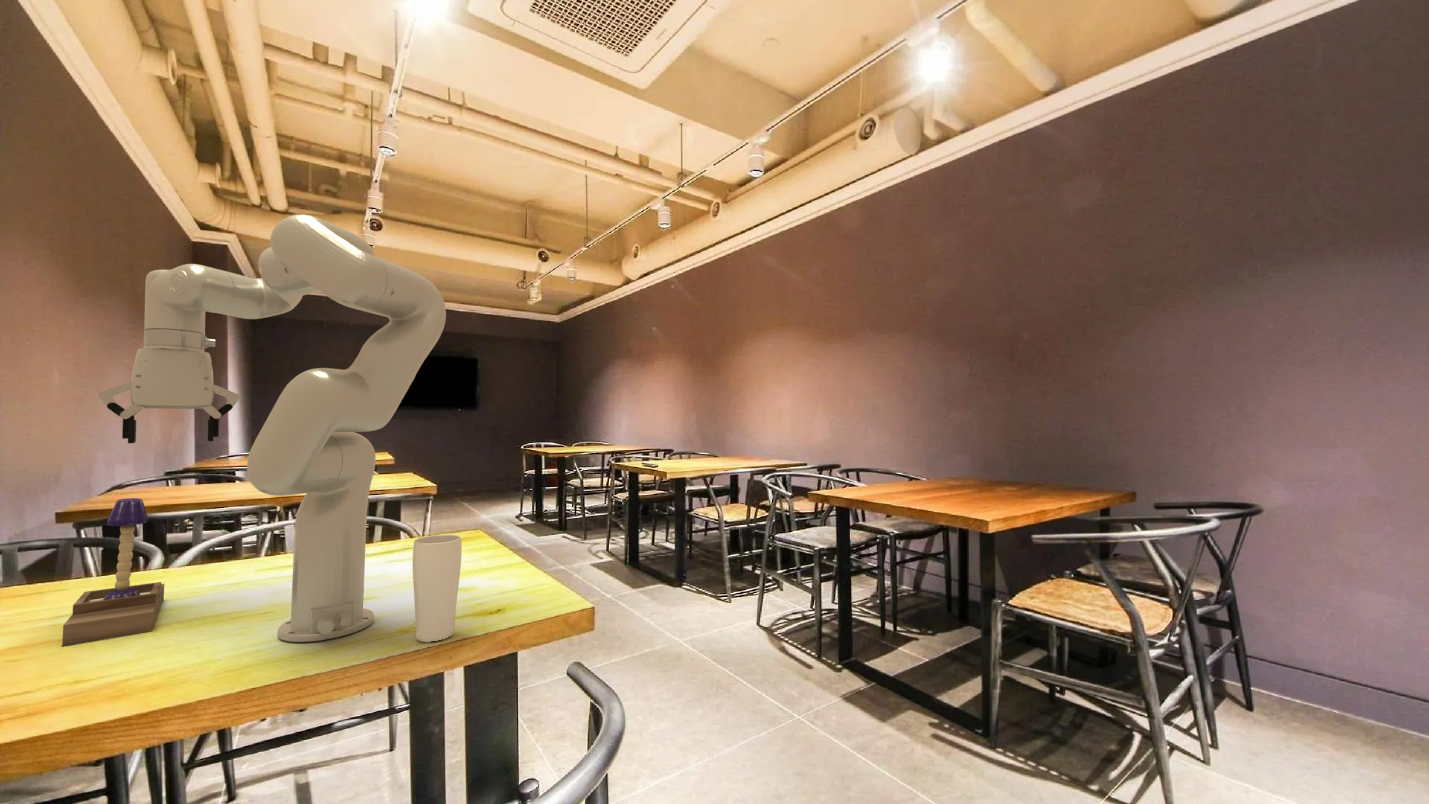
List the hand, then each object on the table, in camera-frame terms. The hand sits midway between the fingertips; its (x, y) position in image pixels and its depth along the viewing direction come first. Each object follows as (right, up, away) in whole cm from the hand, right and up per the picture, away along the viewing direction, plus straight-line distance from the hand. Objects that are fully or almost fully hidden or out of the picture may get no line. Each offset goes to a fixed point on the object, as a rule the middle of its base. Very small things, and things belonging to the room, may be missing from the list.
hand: (172, 442), depth 94 cm
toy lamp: (-5, -26, -3) cm, 27 cm away
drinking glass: (+50, -30, -10) cm, 59 cm away
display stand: (-5, -29, -4) cm, 30 cm away
